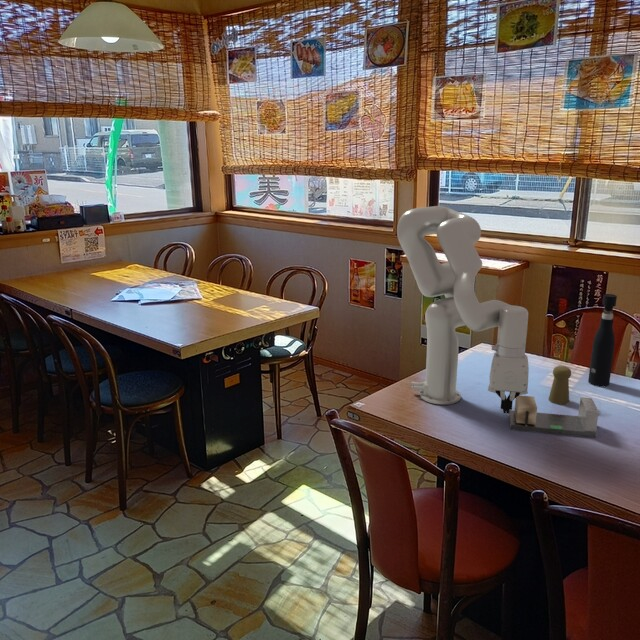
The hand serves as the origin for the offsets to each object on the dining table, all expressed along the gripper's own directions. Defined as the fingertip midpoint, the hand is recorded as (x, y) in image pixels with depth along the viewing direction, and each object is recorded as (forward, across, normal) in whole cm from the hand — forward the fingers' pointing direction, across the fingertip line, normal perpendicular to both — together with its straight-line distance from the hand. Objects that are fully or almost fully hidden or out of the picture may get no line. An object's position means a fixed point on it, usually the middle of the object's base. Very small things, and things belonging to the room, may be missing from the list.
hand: (505, 411), depth 171 cm
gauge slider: (+1, +5, 0) cm, 5 cm away
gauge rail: (+3, +12, 0) cm, 13 cm away
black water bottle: (+4, +32, +37) cm, 49 cm away
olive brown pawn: (+4, +17, +19) cm, 26 cm away
